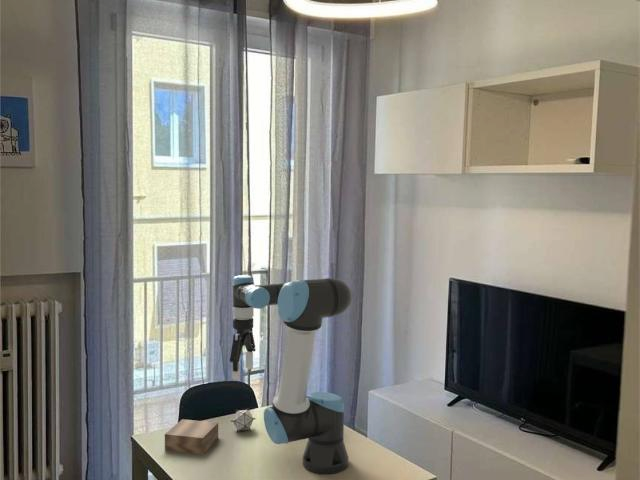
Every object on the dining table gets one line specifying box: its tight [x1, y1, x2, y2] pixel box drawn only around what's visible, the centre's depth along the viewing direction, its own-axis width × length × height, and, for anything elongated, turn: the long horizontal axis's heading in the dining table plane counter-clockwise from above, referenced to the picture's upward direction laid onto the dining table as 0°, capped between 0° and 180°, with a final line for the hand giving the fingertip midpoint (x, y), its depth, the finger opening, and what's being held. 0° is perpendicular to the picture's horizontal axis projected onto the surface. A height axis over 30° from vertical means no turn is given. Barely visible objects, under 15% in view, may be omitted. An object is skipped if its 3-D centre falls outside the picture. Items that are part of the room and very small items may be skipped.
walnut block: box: [164, 418, 219, 455], centre depth 216 cm, size 14×14×6 cm
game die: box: [230, 407, 256, 433], centre depth 228 cm, size 9×8×10 cm
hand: (242, 373), depth 227 cm, fingers open, 13 cm apart
